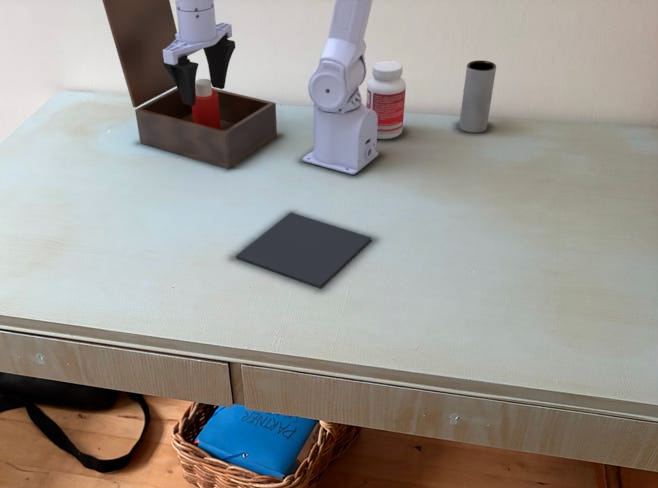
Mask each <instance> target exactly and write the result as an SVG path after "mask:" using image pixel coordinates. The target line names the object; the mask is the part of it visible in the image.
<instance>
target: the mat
mask: <svg viewBox="0 0 658 488" xmlns="http://www.w3.org/2000/svg"><path fill="white" fill-rule="evenodd" d="M371 241H372V237H371V236H367V235H365V234H362V233H358V232H355V231H352V230H349V229H345V228H342V227H339V226H335V225H332V224H330V223H326V222H323V221H319V220H316V219H313V218H310V217H306V216H303V215H301V214H297V213H294V212H289V213H288V214H286V216H284V217H283V218H281V219H280V220H278V222H277V223H275V224H274V225H273V226H271V227H270V228H269V229H267V230H266V231H265V232H264V233H262V234H261V235H260V236H259V237H258V238H256V239H255V240H254V241H252V243H251V242H250V244H249V245H248V246H246V247H245V248H244V249H242V250H241V251H240V252H238V254H236V255H235V258H236V259H237V260H240V261H243V262H246V263H249V264H252V265H254V266H257V267H260V268H263V269H265V270H268V271H270V272H274V273H277V274H278V275H282V276H285V277H288V278H290V279H292V280H296V281H299V282H301V283H304V284H307V285H309V286H312V287H316V288H318V289H321V288H322V287H323V286H324V285H325V284H326V283H328V281H330V280H331V279H332V278H333V277H334V276H335V275H336V274H337V273H338V272H339V271H340V270H341V269H342V268H343V267H344V266H345V265H347V264H348V262H350V261H351V260H352V259H353V258H354V257H355V256H356V255H357V254H358V253H359V252H360V251H362V250H363V248H365V247H366V246H367V245H368V244H369V243H370V242H371Z"/></svg>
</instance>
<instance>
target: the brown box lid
mask: <svg viewBox="0 0 658 488" xmlns="http://www.w3.org/2000/svg"><path fill="white" fill-rule="evenodd" d="M101 1H102V3H103V7H104V11H105V13H106V19H107V22H108V25H109V29H110V32H111V35H112V39H113V43H114V45H115V49H116V52H117V53H116V54H117V56H118V60H119V63H120V67H121V70H122V73H123V76H124V80H125V83H126V88H127V90H128V95H129V98H130V100H131V105H132V108H136V109H137V108H139V106H140V107H141V106H143V105H145V104H146V103H148V102H150V101H152V100H154V99H156V98H158V97H160V96H162V95H164V94H166V93H168V92H169V91H171V90H173V89H175V88H177V86H176V84H175V82H174V80H173V78H172V77H171V75H170V74H169V72H168V71H167V69H166V68H165V67H164V66H163V58H164V57H163V50H164V49H166V48H167V47H169V46H170V45H171V44H172V43H173V42H174V41H175V40H176V36H175V34H176V33H178V29H177V26H176V22H175V17H174V13H173V9H172V5H171V1H170V0H101Z"/></svg>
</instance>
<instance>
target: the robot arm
mask: <svg viewBox="0 0 658 488" xmlns="http://www.w3.org/2000/svg"><path fill="white" fill-rule="evenodd" d="M373 1H374V0H335V1H334V6H333V12H332V16H331V21H330V25H329V26H330V27H329V31H328V38H327V40H326V42H325V45H324V46H323V50H322V51H321V54H320V56H319V61H318V65H317V68H316V69H315V71H314V72H313V73H312V75H311V76H310V78H309V80H308V84H307V91H308V96H309V98H310V100H311V101H312V103H313V149H312V150H311V151H310V152H309V153H307V154H306V155H305V156H303V157H302V161H303V162H305V163H309V164H312V165H316V166H319V167H324V168H326V169H330V170H334V171H338V172H341V173H345V174H349V175H356V174H357V173H358V172H360V171H361V170H362V169H363V168H364V167H366V166H367V165H368V164H369V163H371V162H372V161H373V160H374V159H376V158H377V157H378V156H379V152H378V151H377V147H378V146H377V145H378V144H377V143H378V138H377V128H378V117H377V114H376V112H375V111H374V110H372V109H369V108H367V107H366V104H364V102H362V95H361V92H360V86H361V85H362V84H363V83H364V82H365V79H366V76H367V71H368V70H367V64H366V58H365V54H366V50H367V44H366V42H365V41H366V40H365V35H366V32H367V27H368V22H369V19H370V15H371V9H372V5H373ZM174 2H175V9H176V19H177V27H178V32H177V33H176V34H175V36H176V40H175V41H174V42H173V43H172V44H171V45H170V46H169V47H167V48H166V49H164V50H163V57H164V58H163V66H164V67H165V68H166V69H167V71H168V72H169V74H170V75H171V77H172V78H173V80H174V82H175V84H176V88H177V89H178V91H179V94H180V96H181V99H182V102H183V104H187V105H191V106H193V105H195V102H196V90H195V81H196V80H197V79H196V78H197V71H198V68H199V65H200V64H199V63H198V62H194V61H191V59H190V58H188V57H189V56H191V55H193V54H195V53H197V52H199V51H201V50H203V52H204V55H205V59H206V62H207V65H208V66H207V67H208V72H209V73H208V74H209V80H210V81H211V87H212V88H215V89H219V90H224V89H225V86H226V81H227V75H228V69H229V66H230V61H231V58H232V57H233V53H234V51H235V50H236V42H235V41H234V40H231V39H230V38H232V37H233V27H232V24H231V23H227V22H222V21H221V22H219V23H217V24H216V10H215V9H216V8H215V0H174Z"/></svg>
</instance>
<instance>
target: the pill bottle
mask: <svg viewBox="0 0 658 488" xmlns="http://www.w3.org/2000/svg"><path fill="white" fill-rule="evenodd" d="M403 72H404V71H403V64H402V63H401V62H398V61H393V60H381V61H377V62H375V63H373V65H372V72H371V73H372V77H371V78H370V79H369V80H368V82H367V84H366V104H365V106H366V107H367V108H369V109H372V110H374V111H375V112H376V114H377V117H378V128H377V140H378V139H380V140H388V139H393V138H396V137H399V136H400V135H401V134H402V133H403V129H404V116H405V115H404V114H405V104H406V103H405V101H406V89H407V88H406V87H407V84H406V81H405V79H403V78H402V76H403Z"/></svg>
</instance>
